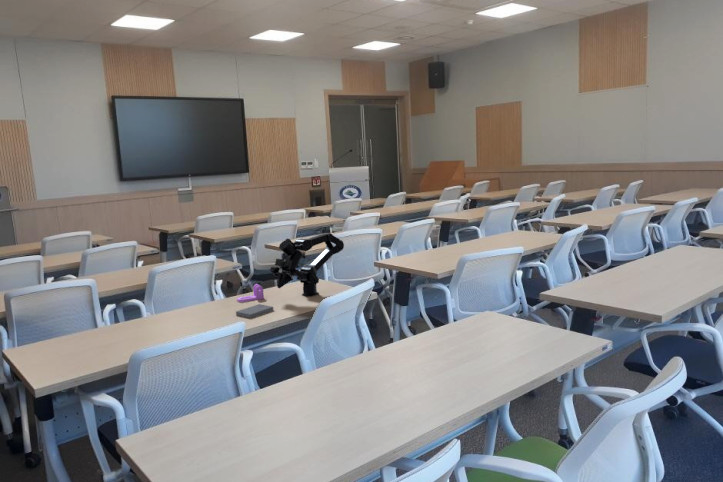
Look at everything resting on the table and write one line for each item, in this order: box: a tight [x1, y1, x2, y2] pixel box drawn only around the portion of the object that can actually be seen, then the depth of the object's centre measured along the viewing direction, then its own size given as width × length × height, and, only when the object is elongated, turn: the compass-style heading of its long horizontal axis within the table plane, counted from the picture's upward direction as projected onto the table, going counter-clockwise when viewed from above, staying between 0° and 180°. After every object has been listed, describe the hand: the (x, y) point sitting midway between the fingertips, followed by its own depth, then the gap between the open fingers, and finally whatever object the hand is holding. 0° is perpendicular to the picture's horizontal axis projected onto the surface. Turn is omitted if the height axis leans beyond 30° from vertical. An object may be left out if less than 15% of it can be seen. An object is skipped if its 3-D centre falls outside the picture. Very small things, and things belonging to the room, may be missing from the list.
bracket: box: [236, 283, 265, 303], centre depth 288 cm, size 13×6×7 cm, turn 114°
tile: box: [235, 303, 274, 319], centre depth 264 cm, size 2×10×14 cm
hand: (278, 287), depth 274 cm, fingers closed
